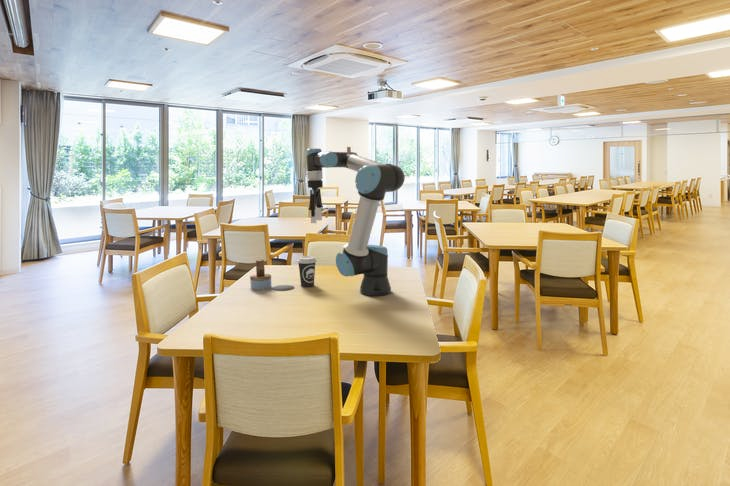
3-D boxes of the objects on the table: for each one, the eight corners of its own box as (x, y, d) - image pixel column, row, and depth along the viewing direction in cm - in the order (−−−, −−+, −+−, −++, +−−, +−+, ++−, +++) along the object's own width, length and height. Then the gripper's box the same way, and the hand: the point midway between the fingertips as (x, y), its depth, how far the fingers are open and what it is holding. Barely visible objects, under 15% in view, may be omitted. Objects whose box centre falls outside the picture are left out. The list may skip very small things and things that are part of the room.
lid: (275, 277, 238) (274, 260, 236) (259, 281, 230) (258, 263, 228) (262, 274, 244) (261, 257, 243) (245, 278, 236) (245, 260, 235)
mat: (299, 288, 237) (299, 287, 237) (282, 293, 228) (282, 292, 228) (284, 284, 244) (284, 283, 244) (267, 289, 235) (267, 288, 235)
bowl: (275, 287, 238) (274, 277, 238) (259, 291, 231) (259, 281, 230) (262, 284, 245) (262, 275, 244) (246, 288, 237) (246, 278, 236)
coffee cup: (318, 284, 245) (318, 255, 243) (314, 288, 236) (314, 259, 233) (300, 283, 246) (299, 255, 244) (296, 288, 237) (295, 259, 234)
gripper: (312, 179, 250) (314, 219, 253) (302, 180, 225) (303, 224, 228) (326, 179, 249) (328, 219, 252) (317, 180, 224) (318, 224, 228)
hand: (316, 221), depth 240 cm, fingers open, 13 cm apart
